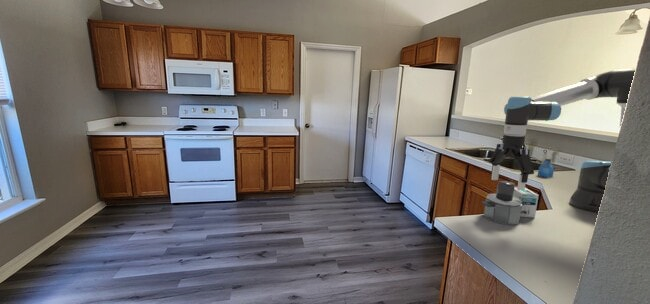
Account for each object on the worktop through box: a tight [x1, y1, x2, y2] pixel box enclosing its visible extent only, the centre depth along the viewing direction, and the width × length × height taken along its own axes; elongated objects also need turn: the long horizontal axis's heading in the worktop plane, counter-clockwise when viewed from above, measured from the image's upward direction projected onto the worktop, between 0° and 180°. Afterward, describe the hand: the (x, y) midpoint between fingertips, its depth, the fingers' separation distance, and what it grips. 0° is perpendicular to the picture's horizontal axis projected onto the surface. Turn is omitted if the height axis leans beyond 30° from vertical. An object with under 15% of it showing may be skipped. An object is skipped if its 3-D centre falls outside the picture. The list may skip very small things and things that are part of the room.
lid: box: [486, 180, 522, 206], centre depth 116 cm, size 12×12×10 cm
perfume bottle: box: [537, 158, 555, 179], centre depth 185 cm, size 6×6×12 cm
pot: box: [481, 196, 525, 226], centre depth 117 cm, size 18×13×8 cm
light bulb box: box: [513, 186, 540, 219], centre depth 123 cm, size 11×7×11 cm, turn 169°
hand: (506, 184), depth 115 cm, fingers open, 13 cm apart
